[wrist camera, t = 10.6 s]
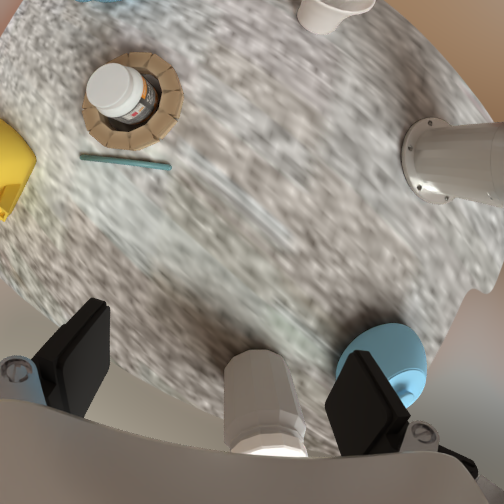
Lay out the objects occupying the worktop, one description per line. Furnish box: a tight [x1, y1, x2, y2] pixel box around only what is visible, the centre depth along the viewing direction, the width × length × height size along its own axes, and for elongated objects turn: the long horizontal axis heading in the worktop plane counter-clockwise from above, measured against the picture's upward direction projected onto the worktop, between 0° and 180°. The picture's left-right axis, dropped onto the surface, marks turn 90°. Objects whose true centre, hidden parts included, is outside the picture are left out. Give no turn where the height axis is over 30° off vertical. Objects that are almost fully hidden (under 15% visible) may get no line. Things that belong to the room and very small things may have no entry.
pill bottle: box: [86, 63, 158, 125], centre depth 27 cm, size 6×6×10 cm
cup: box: [297, 0, 376, 35], centre depth 25 cm, size 9×9×10 cm
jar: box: [224, 350, 308, 457], centre depth 34 cm, size 10×10×18 cm
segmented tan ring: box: [82, 52, 184, 151], centre depth 30 cm, size 12×12×3 cm
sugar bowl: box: [336, 323, 427, 408], centre depth 39 cm, size 15×15×12 cm
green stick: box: [80, 155, 172, 170], centre depth 33 cm, size 13×1×1 cm, turn 79°
